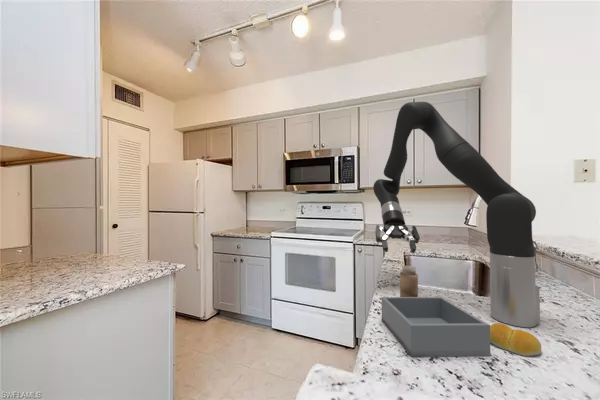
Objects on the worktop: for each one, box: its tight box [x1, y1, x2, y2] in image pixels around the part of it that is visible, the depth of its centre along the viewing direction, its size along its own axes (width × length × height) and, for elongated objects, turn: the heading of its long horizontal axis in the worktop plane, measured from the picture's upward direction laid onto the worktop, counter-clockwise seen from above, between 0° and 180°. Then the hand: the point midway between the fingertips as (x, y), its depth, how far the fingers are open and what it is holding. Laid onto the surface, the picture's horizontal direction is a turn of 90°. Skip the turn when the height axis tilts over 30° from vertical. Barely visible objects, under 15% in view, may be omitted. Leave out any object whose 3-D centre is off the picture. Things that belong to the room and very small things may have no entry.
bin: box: [381, 296, 491, 358], centre depth 58 cm, size 16×16×6 cm
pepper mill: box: [399, 265, 419, 297], centre depth 74 cm, size 5×5×12 cm
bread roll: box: [490, 322, 542, 357], centre depth 54 cm, size 8×9×4 cm
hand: (400, 251), depth 85 cm, fingers open, 8 cm apart
